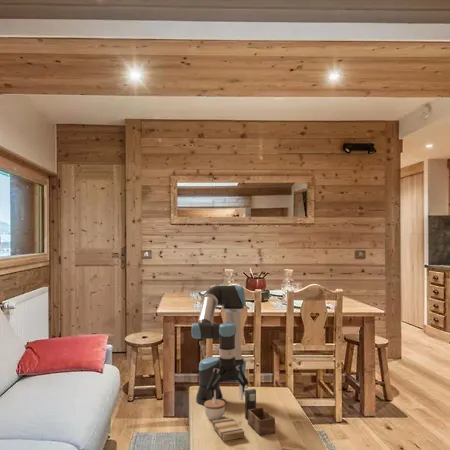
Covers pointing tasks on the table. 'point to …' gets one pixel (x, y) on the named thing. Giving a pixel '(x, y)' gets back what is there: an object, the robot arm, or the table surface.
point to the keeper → (249, 402)
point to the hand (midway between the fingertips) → (227, 401)
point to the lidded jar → (214, 409)
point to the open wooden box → (261, 421)
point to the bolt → (249, 394)
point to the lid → (228, 429)
